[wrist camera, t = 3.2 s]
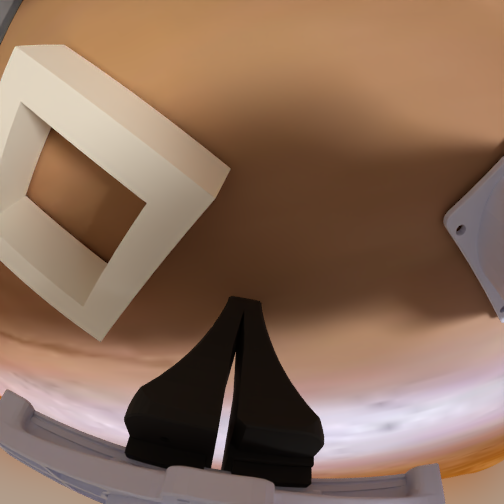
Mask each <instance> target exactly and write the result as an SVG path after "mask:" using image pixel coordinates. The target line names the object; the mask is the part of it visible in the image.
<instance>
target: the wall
mask: <svg viewBox="0 0 504 504" xmlns="http://www.w3.org/2000/svg"><path fill="white" fill-rule="evenodd" d="M21 2H22V0H0V44H1V42H2V39H3V37H4V35H5V33H6V31H7V29H8V27H9V25H10V23H11V21H12V19H13V17H14V15H15V13H16V11H17V9H18V8H19V6H20V4H21Z"/></svg>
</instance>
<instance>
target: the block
mask: <svg viewBox="0 0 504 504" xmlns="http://www.w3.org/2000/svg"><path fill="white" fill-rule="evenodd" d="M51 127H52V128H53V129H55V130H56V131H57V132H58V133H59V134H61V135H62V136H63V137H64V138H66V139H67V140H68V141H69V142H70V143H72V144H73V145H74V146H75V147H77V148H78V149H79V150H80V151H82V152H83V153H84V154H85V155H86V156H88V157H89V158H90V159H91V160H93V161H94V162H95V163H96V164H98V165H99V166H100V167H101V168H103V169H104V170H105V171H106V172H108V173H109V174H110V175H111V176H113V177H114V178H115V179H117V180H118V181H119V182H120V183H122V184H123V185H124V186H125V187H127V188H128V189H129V190H130V191H132V192H133V193H134V194H136V195H137V196H138V197H139V198H141V199H142V200H143V201H145V202H146V203H147V204H146V205H145V207H144V208H143V210H142V211H141V213H140V214H139V216H138V217H137V219H136V220H135V222H134V223H133V225H132V226H131V228H130V229H129V231H128V232H127V234H126V235H125V237H124V238H123V240H122V242H121V243H120V245H119V246H118V248H117V249H116V251H115V253H114V254H113V256H112V258H111V259H110V261H109V262H108V264H107V263H106V262H105V261H103V260H102V259H101V258H99V257H98V256H97V255H96V254H94V253H93V252H92V251H90V250H89V249H88V248H87V247H85V246H84V245H83V244H82V243H80V242H79V241H78V240H77V239H76V238H74V237H73V236H72V235H71V234H69V233H68V232H67V231H66V230H65V229H63V228H62V227H61V226H60V225H59V224H58V223H56V222H55V221H54V220H53V219H52V218H51V217H49V216H48V215H47V214H46V213H45V212H44V211H42V210H41V209H40V208H39V207H38V206H37V205H36V204H35V203H33V202H32V201H31V200H30V199H29V198H28V197H27V196H26V193H27V190H28V187H29V184H30V181H31V178H32V175H33V172H34V169H35V167H36V164H37V161H38V159H39V156H40V153H41V151H42V148H43V146H44V143H45V141H46V139H47V136H48V134H49V132H50V129H51ZM230 170H231V168H229V167H228V166H227V165H226V164H224V163H223V162H222V161H221V160H219V159H218V158H217V157H216V156H214V155H213V154H212V153H211V152H209V151H208V150H207V149H206V148H204V147H203V146H202V145H201V144H199V143H198V142H197V141H196V140H194V139H193V138H192V137H191V136H189V135H188V134H187V133H185V132H184V131H183V130H182V129H180V128H179V127H178V126H176V125H175V124H174V123H172V122H171V121H170V120H169V119H167V118H166V117H165V116H163V115H162V114H161V113H159V112H158V111H157V110H155V109H154V108H153V107H151V106H150V105H149V104H147V103H146V102H145V101H143V100H142V99H141V98H139V97H138V96H137V95H135V94H134V93H132V92H131V91H130V90H128V89H127V88H126V87H124V86H123V85H121V84H120V83H119V82H117V81H116V80H114V79H113V78H112V77H110V76H109V75H107V74H106V73H105V72H103V71H102V70H100V69H99V68H98V67H96V66H95V65H93V64H92V63H90V62H89V61H87V60H86V59H85V58H83V57H82V56H80V55H79V54H77V53H76V52H74V51H73V50H71V49H70V48H68V47H67V46H65V45H26V46H15V48H14V50H13V52H12V55H11V57H10V59H9V61H8V64H7V66H6V68H5V71H4V73H3V76H2V78H1V81H0V261H1V262H2V263H3V264H4V265H5V266H7V267H8V268H9V269H10V270H11V271H12V272H13V273H14V274H15V275H16V276H17V277H19V278H20V279H21V280H22V281H23V282H24V283H25V284H26V285H28V286H29V287H30V288H31V289H32V290H33V291H35V292H36V293H37V294H38V295H39V296H41V297H42V298H43V299H44V300H45V301H47V302H48V303H49V304H50V305H52V306H53V307H54V308H55V309H57V310H58V311H59V312H60V313H62V314H63V315H64V316H66V317H67V318H68V319H69V320H71V321H72V322H73V323H75V324H76V325H77V326H79V327H80V328H82V329H83V330H84V331H86V332H87V333H88V334H90V335H91V336H93V337H94V338H96V339H97V340H98V341H100V342H101V341H102V340H103V338H104V337H105V335H106V334H107V333H108V331H109V330H110V329H111V327H112V326H113V325H114V323H115V322H116V321H117V319H118V318H119V317H120V315H121V314H122V313H123V311H124V310H125V309H126V307H127V306H128V305H129V303H130V302H131V301H132V300H133V298H134V297H135V296H136V294H137V293H138V292H139V290H140V289H141V288H142V287H143V285H144V284H145V283H146V282H147V280H148V279H149V278H150V276H151V275H152V274H153V273H154V271H155V270H156V269H157V268H158V266H159V265H160V264H161V263H162V261H163V260H164V259H165V258H166V257H167V255H168V254H169V253H170V252H171V250H172V249H173V248H174V247H175V246H176V244H177V243H178V242H179V241H180V240H181V238H182V237H183V236H184V235H185V234H186V232H187V231H188V230H189V229H190V228H191V226H192V225H193V224H194V223H195V222H196V220H197V219H198V218H199V217H200V216H201V215H202V213H203V212H204V211H205V210H206V209H207V208H208V206H209V205H210V204H211V203H212V202H213V201H214V200H215V198H216V196H217V194H218V193H219V191H220V189H221V187H222V185H223V183H224V181H225V179H226V177H227V175H228V173H229V172H230Z"/></svg>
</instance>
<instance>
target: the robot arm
mask: <svg viewBox="0 0 504 504" xmlns="http://www.w3.org/2000/svg"><path fill="white" fill-rule="evenodd" d="M443 223H444V226H445V228H446V229H447V231H448V232H449V234H450V235H451V237H452V238H453V240H454V241H455V243H456V244H457V246H458V247H459V249H460V250H461V252H462V254H463V255H464V257H465V259H466V260H467V262H468V263H469V265H470V267H471V268H472V270H473V272H474V274H475V275H476V277H477V279H478V280H479V282H480V284H481V286H482V288H483V289H484V291H485V293H486V295H487V297H488V299H489V301H490V302H491V304H492V306H493V308H494V310H495V312H496V314H497V316H498V318H499V320H500V321H501V322H502V323H504V156H503V157H502V158H501V159H500V160H499V161H498V162H497V163H496V164H495V165H494V166H493V168H492V169H491V170H490V171H489V172H488V173H487V174H486V175H485V176H484V177H483V178H482V179H481V180H480V181H479V182H478V183H477V184H476V185H475V186H474V187H473V188H472V189H471V190H470V191H469V192H468V193H467V194H466V195H464V196H463V197H462V198H461V199H460V200H459V201H458V202H457V203H456V204H455V205H454V206H453V207H452V208H451V209H450V210H449V211H448V212H447V213H446V214H445V216H444V219H443ZM460 225H462V227H461V229H460V230H459V231H456V230H457V228H458V226H460ZM235 352H236V358H235V375H234V392H233V401H232V407H231V414H230V420H229V426H228V432H227V438H226V444H225V450H224V456H223V462H222V467H221V470H217V469H212V468H211V465H212V460H213V455H214V449H215V444H216V439H217V433H218V428H219V422H220V416H221V410H222V404H223V398H224V393H225V388H226V384H227V381H228V377H229V374H230V370H231V367H232V363H233V359H234V356H235ZM124 422H125V425H126V427H127V430H128V432H129V435H130V437H129V440H128V443H127V446H126V447H123V446H120V445H117V444H114V443H111V442H108V441H106V440H103V439H100V438H97V437H95V436H92V435H89V434H87V433H84V432H82V431H79V430H77V429H74V428H72V427H70V426H67V425H65V424H63V423H61V422H58V421H56V420H54V419H52V418H50V417H48V416H45V415H43V414H41V413H39V412H37V411H35V410H34V408H33V406H32V405H31V403H30V402H29V401H27V400H26V399H24V398H23V397H21V396H19V395H17V394H15V393H13V392H12V391H10V390H6V391H5V393H4V394H3V396H2V398H1V400H0V447H1V448H2V449H3V450H5V451H6V452H7V453H8V454H9V455H10V456H12V457H14V458H15V459H17V460H19V461H20V462H22V463H24V464H25V465H27V466H29V467H30V468H32V469H34V470H36V471H38V472H39V473H41V474H43V475H44V476H46V477H48V478H50V479H52V480H54V481H56V482H58V483H59V484H61V485H64V486H65V487H67V488H69V489H72V490H74V491H76V492H78V493H80V494H82V495H84V496H86V497H89V498H91V499H93V500H96V501H98V502H100V503H103V504H445V499H444V492H443V486H442V481H441V475H440V470H439V465H438V464H437V463H435V464H429V465H422V466H417V467H414V468H412V469H410V470H409V471H408V472H406V474H398V475H389V476H378V477H364V478H339V479H313V478H311V467H313V465H314V456H315V455H316V454H317V453H318V452H319V450H320V449H321V448H322V447H323V445H324V434H323V429H322V425H321V421H320V418H319V417H318V416H317V415H316V414H315V413H314V411H313V410H312V409H311V408H310V407H309V406H308V405H307V403H306V402H305V401H304V400H303V398H302V397H301V396H300V394H299V393H298V392H297V390H296V389H295V387H294V386H293V384H292V383H291V381H290V380H289V378H288V376H287V375H286V373H285V371H284V369H283V367H282V366H281V364H280V362H279V360H278V358H277V355H276V353H275V351H274V348H273V346H272V343H271V341H270V338H269V335H268V332H267V329H266V325H265V321H264V317H263V312H262V305H261V302H260V301H257V300H251V299H246V298H240V297H235V296H231V297H229V299H228V302H227V304H226V306H225V308H224V310H223V311H222V313H221V314H220V316H219V317H218V319H217V320H216V322H215V323H214V325H213V326H212V327H211V329H210V330H209V331H208V332H207V334H206V335H205V336H204V337H203V338H202V340H201V341H200V342H199V343H198V344H197V345H196V346H195V347H194V348H193V349H192V350H191V351H190V352H189V353H188V354H187V355H186V356H185V357H183V358H182V359H181V360H180V361H179V362H178V363H176V364H175V365H174V366H173V367H171V368H170V369H168V370H167V371H166V372H164V373H163V374H162V375H160V376H159V377H157V378H155V379H154V380H152V381H150V382H149V383H147V384H145V385H143V386H142V387H140V389H139V390H138V391H137V393H136V394H135V396H134V397H133V399H132V401H131V403H130V404H129V406H128V409H127V412H126V414H125V417H124Z"/></svg>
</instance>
